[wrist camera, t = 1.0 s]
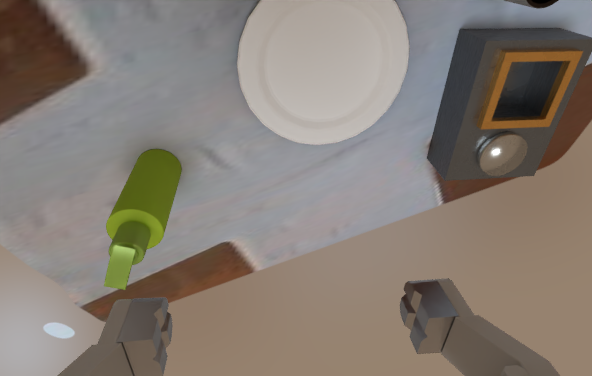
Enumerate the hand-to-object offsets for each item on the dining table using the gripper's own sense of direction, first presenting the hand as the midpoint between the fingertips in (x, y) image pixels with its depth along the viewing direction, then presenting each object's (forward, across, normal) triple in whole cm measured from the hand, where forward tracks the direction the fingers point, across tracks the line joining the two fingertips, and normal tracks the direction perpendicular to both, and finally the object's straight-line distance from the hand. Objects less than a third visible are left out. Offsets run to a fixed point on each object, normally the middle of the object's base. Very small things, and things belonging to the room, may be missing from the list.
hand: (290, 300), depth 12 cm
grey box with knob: (+37, -31, +5) cm, 48 cm away
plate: (+37, -8, 0) cm, 38 cm away
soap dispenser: (+37, +14, +14) cm, 42 cm away
